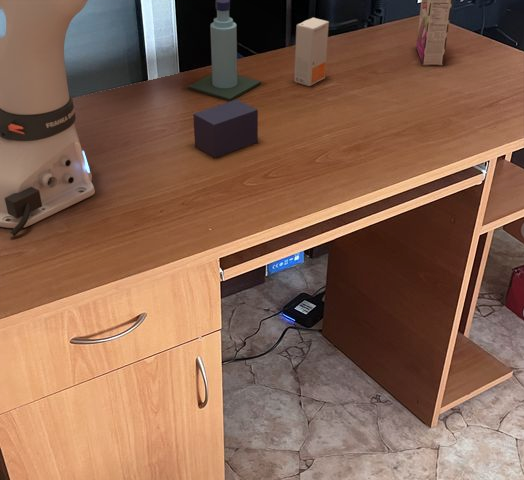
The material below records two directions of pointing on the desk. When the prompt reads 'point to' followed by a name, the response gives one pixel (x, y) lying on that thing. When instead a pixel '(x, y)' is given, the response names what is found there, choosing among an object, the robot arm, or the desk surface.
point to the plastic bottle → (224, 47)
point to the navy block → (225, 128)
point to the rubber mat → (224, 93)
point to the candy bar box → (433, 31)
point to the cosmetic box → (311, 51)
